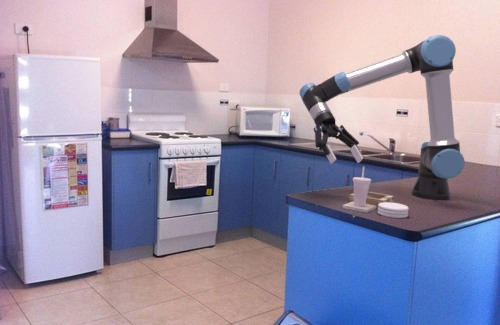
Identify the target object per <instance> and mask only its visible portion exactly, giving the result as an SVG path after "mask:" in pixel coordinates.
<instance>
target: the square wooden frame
mask: <svg viewBox="0 0 500 325" xmlns="http://www.w3.org/2000/svg"><path fill="white" fill-rule="evenodd" d="M348 202H349V203H350V202H354V192H353V193H350V194H349V195H348ZM383 202H390V203H395V195H391V194H387V193H386V194H385V193H379V192H374V191H368V194H367V199H366V203H365V204H369V205H374V206H376V209H378V204H379V203H383Z"/></svg>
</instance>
